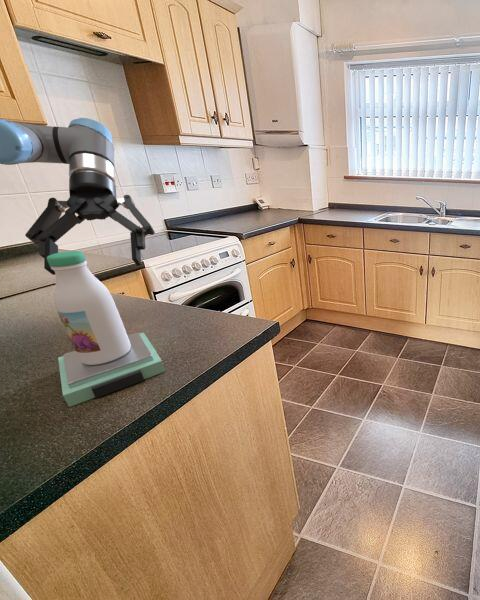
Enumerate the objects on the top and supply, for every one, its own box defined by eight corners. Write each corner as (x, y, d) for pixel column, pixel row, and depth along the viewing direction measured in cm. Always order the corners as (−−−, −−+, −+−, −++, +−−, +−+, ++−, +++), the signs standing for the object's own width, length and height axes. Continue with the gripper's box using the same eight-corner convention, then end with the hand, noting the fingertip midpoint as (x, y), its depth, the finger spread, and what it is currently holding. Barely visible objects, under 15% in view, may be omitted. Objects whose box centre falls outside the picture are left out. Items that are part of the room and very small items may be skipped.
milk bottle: (123, 340, 69) (86, 245, 61) (138, 351, 65) (100, 252, 57) (75, 357, 64) (27, 255, 56) (88, 371, 60) (38, 263, 52)
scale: (63, 368, 67) (57, 357, 66) (147, 341, 76) (143, 332, 75) (69, 409, 56) (63, 397, 55) (166, 373, 65) (162, 362, 64)
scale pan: (65, 358, 65) (63, 354, 65) (139, 336, 73) (138, 332, 73) (70, 388, 57) (67, 383, 56) (153, 359, 65) (152, 355, 64)
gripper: (165, 190, 82) (173, 267, 75) (28, 196, 72) (24, 284, 65) (155, 168, 75) (163, 249, 69) (2, 170, 65) (-5, 265, 59)
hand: (95, 266), depth 67 cm, fingers open, 13 cm apart
